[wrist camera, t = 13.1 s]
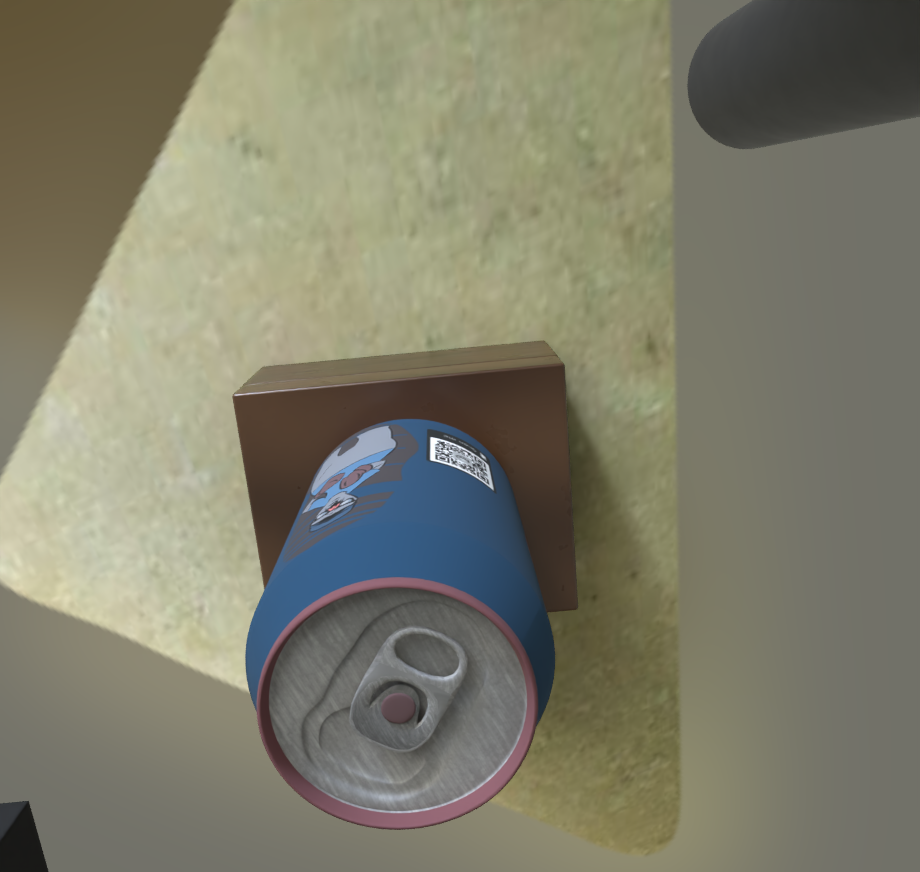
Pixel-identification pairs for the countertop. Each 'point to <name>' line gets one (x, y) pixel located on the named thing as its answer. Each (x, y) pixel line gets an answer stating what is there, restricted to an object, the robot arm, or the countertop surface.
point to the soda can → (402, 632)
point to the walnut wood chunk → (427, 398)
